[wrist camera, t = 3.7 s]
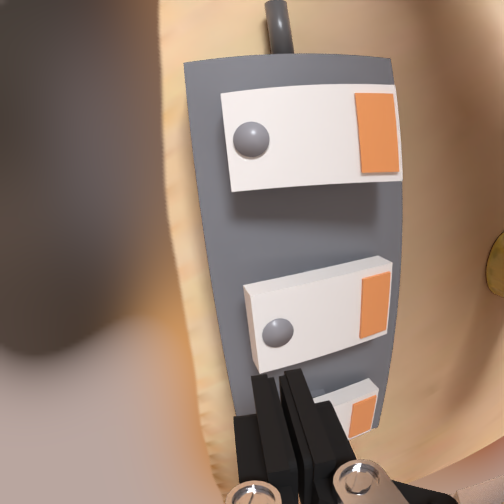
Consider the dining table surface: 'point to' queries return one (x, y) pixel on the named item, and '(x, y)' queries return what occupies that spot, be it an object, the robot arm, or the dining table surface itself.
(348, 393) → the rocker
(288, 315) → the rocker mid
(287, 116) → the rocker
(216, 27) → the dining table surface
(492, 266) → the vase
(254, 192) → the power strip
